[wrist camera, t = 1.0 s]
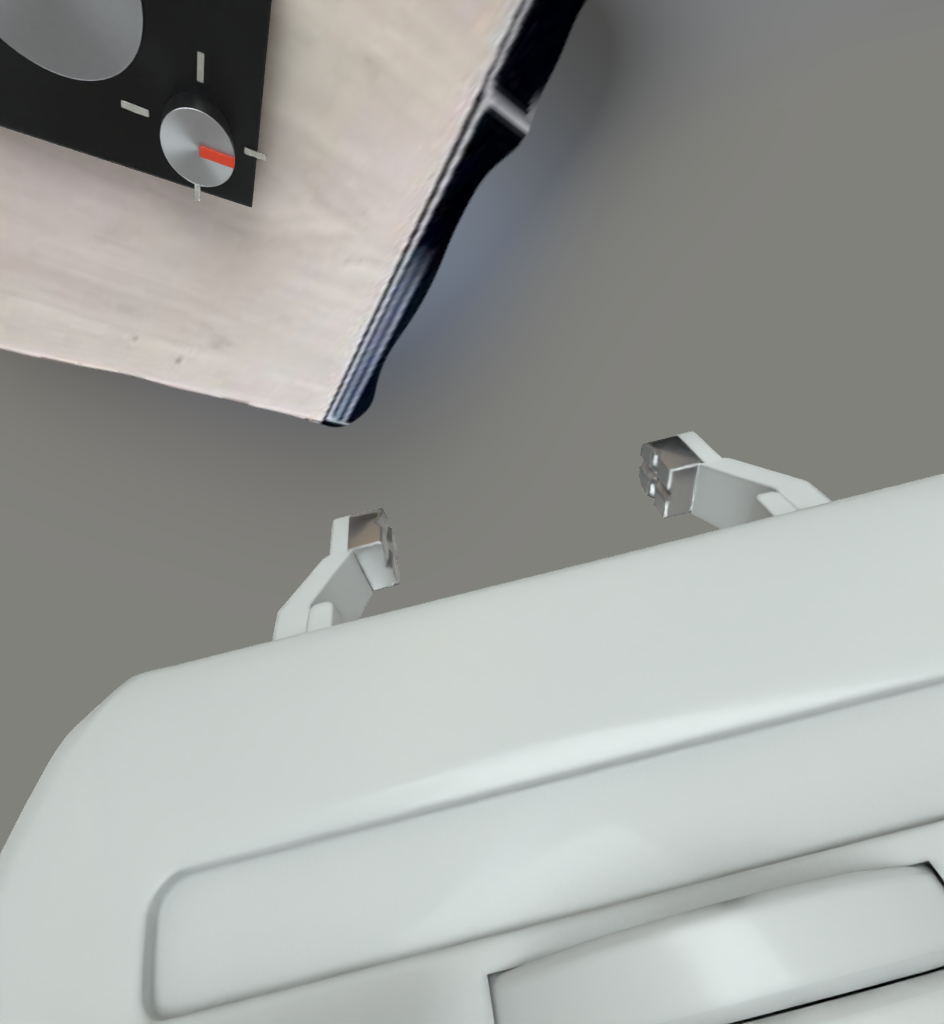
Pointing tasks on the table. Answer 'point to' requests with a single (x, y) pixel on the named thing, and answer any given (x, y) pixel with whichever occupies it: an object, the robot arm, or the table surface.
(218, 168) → the hob knob
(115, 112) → the hob
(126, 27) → the burner
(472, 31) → the table surface
